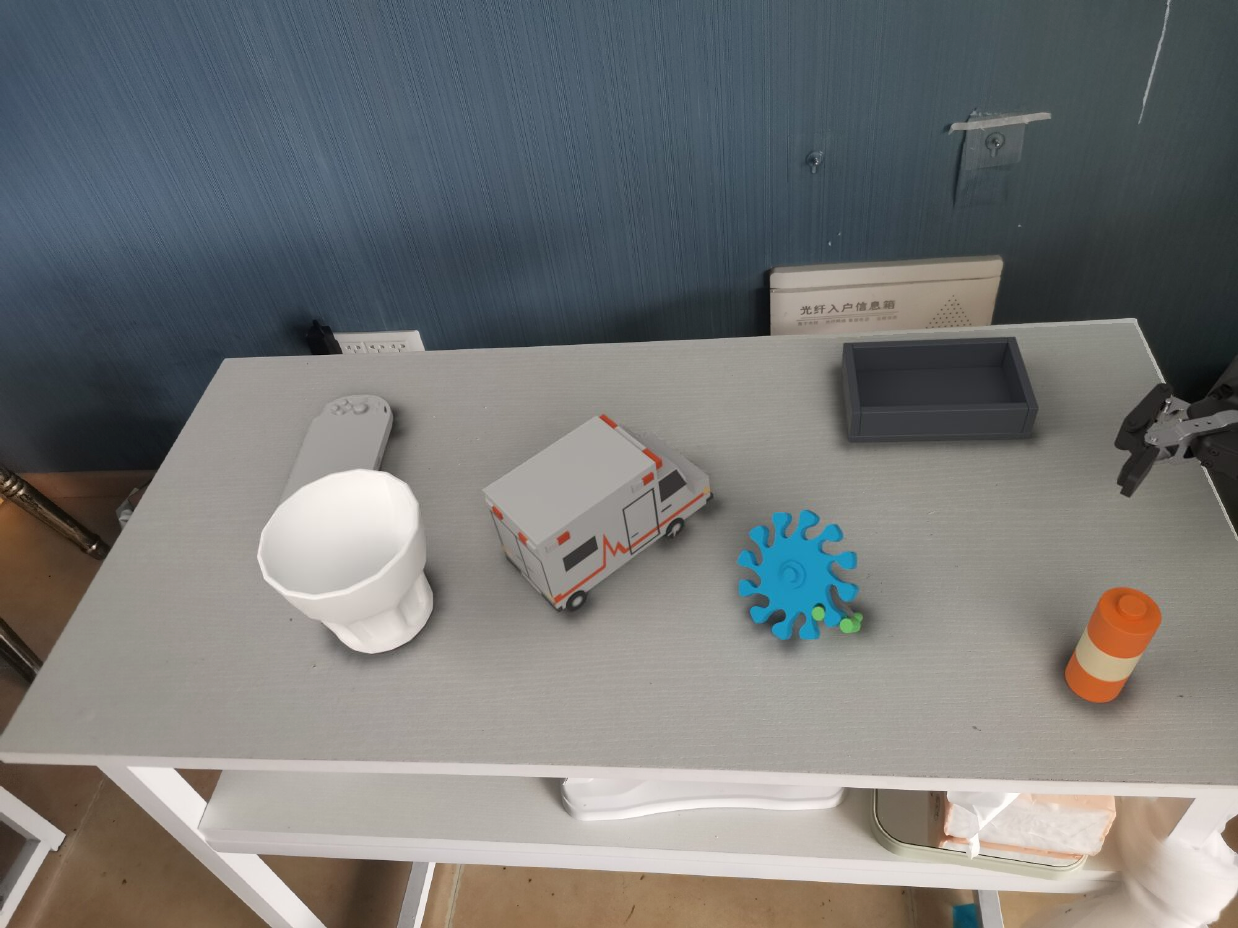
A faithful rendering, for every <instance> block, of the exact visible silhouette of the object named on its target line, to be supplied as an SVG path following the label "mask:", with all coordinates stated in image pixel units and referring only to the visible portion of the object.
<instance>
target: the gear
mask: <svg viewBox="0 0 1238 928" xmlns="http://www.w3.org/2000/svg"><path fill="white" fill-rule="evenodd" d="M820 519H821V517H820V516H819V515H818V514H817V513H816V512H814V511H812V510H811V509H802V510H801V511H800V512H799V515H798V523H797V527H796V528H795V531H793V533H792V534H791V535H790V536H789V537H788V536H787V533H786V530H787V528H788V527H789V526H790V525H791V523H792V522H793V515H792V514H791V513H790V512H783V511H776V512H773V513H772V515H771V520H772V521H771V522H772V523H773V525H774V529H775V534H774V535H775V536H774V540H773V544H772V546H770V545H769V542H768V541H769V537H770V531H769V528H768V526H766V525H757V526H755V527H753V528H752V529H751V530H750V531H749V533H748V535H749V537H750V539H751V540H752V541H754V542H755V543H756V544H757V545H758V548H759V549H760V553H761V556H762V562H761V564H759V562H758V560H757V559H758V558H757V556H756V553H755V552H754V551H753V550H750V549H747V550H746V549H744V550H742V551H741V552H740V554H739V556H738V558H737V564H738V565H739V566H740V567H744V568H748V569H751V570H752V571H753V572H755V573H756V574H757V576H758V577H759V578H760V584H759V586H758V585H757V584H756V583H755V581H753V580H752V579H741V580H739V582H738V595H739V596H741V597H752V596H753V595H756V594H761V595H764V596H765V597H767V598H768V600H769V602H768V603H769V604H768V606H767V607H766V606H763V605H755V606H752V607H751V608H750V609H749V613H750V616H751V618H752V620H753V622H754V623H755V624H764V623H766V622H767V621H768V620H769V618H770V617H771V615H772V614H774V613H775V612H777V611H779V610H783V612H784V613H785V619H784V620H783V621H780V622H777V623H775V624H773V626H772V627H771V632H772V634H773V635H774V636H775V637H777V638H779V639H780V640H782V641H785V640H789V639H790V638H791V637H792V635H793V628H794V623H795V621H796V619H797V618H798V617H799V616H800V615H801V614H802V613H803V614H804V615H805V618H806V620H805V622H804V624H803V625H802V626H801V627H800V628H799V631H798V633H799V638H800V639H802V640H806V641H810V640H812V641H813V640H819V639H820V637H821V630H820V628H819V625H818V622H821V621H823V622H824V625H825V626H826V627H827V628H835V629H837V630H839V631H842V633H844V634H851V633H857V632H859V631H860V629H861V626H862V625H861V622H862V621H863V619H864V617H863V614H862V613H861V612H859V611H858V612H857V611H856V612H854V611H853V610H852V609H851V607H849V606H848V604H847V603H846V602H848V603H849V602H853V601H854V600H855V598H856V597H857V596H858V594H859V591H860V587H859V586H858V585H857V584H855V583H851V582H846V581H844V580H842V579H840V578H839V576H837V575H836V573H834V571H833V570H832V566H833V564H834V563H835V562H836V563H837V564H838V566H839V567H841V568H842V569H844V570H855V569H856V568H857V566H858V556H857V555H858V554H857V552H855V551H850V550H849V551H842V552H841V553H838V554H830V553H827V552H825V550H824V549H823V544H824V543H825V542H826V541H828V542H831V543H833V542H834V543H839V542H841V541H843V540H844V538H845V536H844V533H843V531H842V528H841V527H840V526H839V525H838V523H829V524H827V525H826V526H825V527H824V529H823V530H822V531H821V533H820V534H819V535H817V536H816V537H814V538H810V539H808V538H807V536H806V532H807V530H808V529H809V528H812V527H816V526H817V525H819V522H820ZM833 586H835V587H836V588H837V589H836V590H837V592H836V591H835V589H833Z"/></svg>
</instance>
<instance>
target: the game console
mask: <svg viewBox="0 0 1238 928" xmlns="http://www.w3.org/2000/svg"><path fill="white" fill-rule="evenodd" d="M310 421H311V422H310V424H309V427H308V429H307V432H306V434H305V436H304V439H303V442H302V444H301V446H300V449H299V451H298V454H297V456H296V459H295V462H294V464H293V467H292V470H291V471H290V474H289V477H288V479H287V482H286V484H285V487H284V489H283V492H282V495H281V497H280V499H279V502H278V505H277V507H276V509H277V508H278V507H279V506H280V505H281V504H282V503H283V502H285V501H286V500H287V499H288V498H289V497H291V496H292V495H293V494H294V493H295V492H297V491H298V490H299V489H300V488H301V487H303V486H305V485H307V484H310V483H312V482H314V481H316V480H318V479H321V478H323V477H325V476H327V475H329V474H333V473H338V472H344V471H349V470H355V469H367V470H375V471H380V466H381V464H382V460H383V457H384V454H385V453H384V452H385V450H386V447H387V444H388V441H389V437H390V434H391V430H392V428H393V422H394V414H393V411H392V408H391V407H390V404H389V403H388V401H386V400H385V399H384V398H382V397H381V396H377V395H374V394H354V395H347V396H342V397H339V398H336V399H334V400H332V401H330V402H327V403H326V404H324V406H323V409H322V410H321V412H320V414H318V415H317V416H316V417H314V418H313V419H311V420H310Z"/></svg>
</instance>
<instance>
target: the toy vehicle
mask: <svg viewBox="0 0 1238 928" xmlns="http://www.w3.org/2000/svg"><path fill="white" fill-rule="evenodd" d="M481 492H482V494H483V496H484V503H485V506H487V508H488V511H489V513H490V516H491V519H492V522H493V524H494V527H495V529H496V533H497V535H498V539H499V541H500V543H501V546H502V549H503V552H504V556H505V558H506V559H507V560H508V562H509V563H510V564H511V565H512V566H513V568H515V569H516V571H518V572H519V573H520V574H521V575H522V576H523V577H524V579H526V580H527V582H528V583H529V584H530V585H531V586H532V587H533V588H534V589H535V590H536V592H538V593H539V594H540V595H541V596H542V598H543V599H544V600H545V601H546V602H547V603H548V604H549V605H550V606H551V607H552V608H553V609H554V610H555V611H556V612H557V613H560V612H562V611H563V610H564V609H566V610H568V611H569V612H575V611H577V610H580V608H581V607H582V606H583V605H584V604H585V602H586V600H587V598H588V594H587V592H589V591H590V590H591V589H593V588H594V587H595V586H597V585H598V584H599V583H601V582H602V581H604V580H605V579H607V578H608V577H609V576H610V575H612V574H613V573H615V572H616V571H617V570H618V569H620V568H621V567H623V566H624V565H625V564H627V563H628V562H629V561H630V560H632V559H634V558H635V557H636V556H637V555H639V554H640V553H641V552H643V551H644V550H646V549H647V548H648V547H650V546H651V545H653V544H654V543H655V542H657V541H658V540H660V538H662V537H663V536H666V537H667V538H669V539H673V538H675V537H677V536H678V535H679V534H681V532H682V531H683V529H684V528H685V524H686V523H685V520H686V519H688V518H689V517H690V516H691V515H693V514H694V513H696V512H697V511H698V510H700V509H702V508H703V506H705V505H706V504H708V503H709V502H711V500H712V501H713V499H714V496H715V495H714V493H713V492H712V491H711V485H710V476H709V475H708V474H707V473H706V472H704V470H702V469H700V468H699V467H698V466H697V465H696V464H694V463H692V462H691V461H690V460H689V459H688V458H686V457H685V456H684V455H682V454H681V453H680V452H678V451H677V450H675V449H674V448H673V447H672V446H670V445H669V444H668V443H666V441H664V440H663V439H661V438H660V437H659V436H658V435H656V434H655V433H654V432H652V431H650V432H647V433H644V434H641V435H639V434H637V433H636V432H634V431H633V430H632V429H631V428H629V427H628V426H627V425H625V424H624V423H623V422H622V421H620V420H619V419H618V420H617V421H613V420H612V419H611V418H610V417H608V416H607V415H605V413H603V414H601V415H600V416H598V415H595V416H593V417H592V418H590V419H588V420H587V421H585V422H584V423H582V424H581V425H579V426H577V427H576V428H574V429H572V430H571V431H569V433H567V434H565V435H564V436H562V437H560V438H559V439H557V440H556V441H555V442H553V443H551V444H549V445H548V446H547V447H545V448H544V449H542V450H541V451H539V452H538V453H536V454H535V455H533V456H532V457H530V458H529V459H527V460H525V461H524V462H522V463H521V464H520V465H518V466H516V467H514V468H513V469H512V470H510V471H508V472H507V473H505V474H504V475H503V476H501V477H500V478H498V479H496V480H494V481H493V482H492V483H490V484H489V485H487V486H485V487H484V488H482V489H481Z"/></svg>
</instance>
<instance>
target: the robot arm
mask: <svg viewBox="0 0 1238 928" xmlns="http://www.w3.org/2000/svg"><path fill="white" fill-rule="evenodd" d="M1173 393H1174V387H1173V386H1172V385H1171V384H1169V383H1166V382H1159V383H1157V384H1156V385H1155V386H1154V387H1153V388H1152V389H1151V390H1150V391H1149V392H1148V394H1146V395H1145V396H1144V397H1143V399H1142V400H1140V401H1139V403H1138V404H1137V405H1136V406H1135V407H1134V408H1133V409H1132V410H1131V411H1130V412H1129V413H1128V414H1127V415H1126V416H1125V417H1124V419H1123V421H1122V423H1121V425H1120V428H1119V431H1118V432H1117V435H1116V438H1115V440H1114V442H1113V444H1114V447H1115V448H1116V449H1117V450H1120V451H1128V452H1129V453H1130V454H1131V455H1130V456H1129V457H1128V459H1126V461H1125V462H1124V464H1123V465H1122V467H1121V469H1120V471H1119V474H1118V476H1117V478H1116V485H1117V486H1120V487H1121V489H1120V492H1119V495H1122V496H1124V497H1126V498H1128V499H1131V498H1132V497H1133V495H1134V493H1135V492H1136V491H1137V489H1138V488H1139V487H1140V486H1141V484H1142V483H1143V481H1144V480H1145V479H1146V477H1147V476H1148V475H1149V473H1150V472H1151V470H1152V468H1153V467H1154V466H1157V465H1163V464H1167V463H1169V464H1170V465H1171V466H1178V465H1183V464H1187V463H1194V462H1200V463H1199V466H1201V467H1204V468H1206V469H1208V470H1211V471H1215V472H1218V473H1222V474H1225V475H1226V476H1228V477H1229V478H1231V479H1232V480H1233V481H1236V482H1238V353H1237V354H1236V356H1235V357H1234V358H1233V359H1232V361H1231V362H1230V364H1229V365H1228V366H1227V367H1226V369H1225V370H1224V372H1222V374H1221V375H1220V377H1219V378H1218V380H1216V382H1215V384H1213V386H1212V387H1211V389H1210V390H1209V392H1208V393H1207V394H1206V395H1205V397H1204V398H1203V399H1201V400H1198V401H1195V402H1193V403H1189V402H1187V401H1185V400H1183V399H1180V398H1178V397H1177V396H1174V395H1173ZM1172 419H1179V420H1181V421H1179V422H1178V423H1176V424H1174V425H1173V426H1172V427H1170V428H1165V429H1160V430H1156V431H1154V430H1153V431H1149V430H1150V429H1151V428H1152V427H1153V426H1154V425H1163V423H1164V422H1169V421H1170V420H1172ZM1148 431H1149V432H1148Z"/></svg>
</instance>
